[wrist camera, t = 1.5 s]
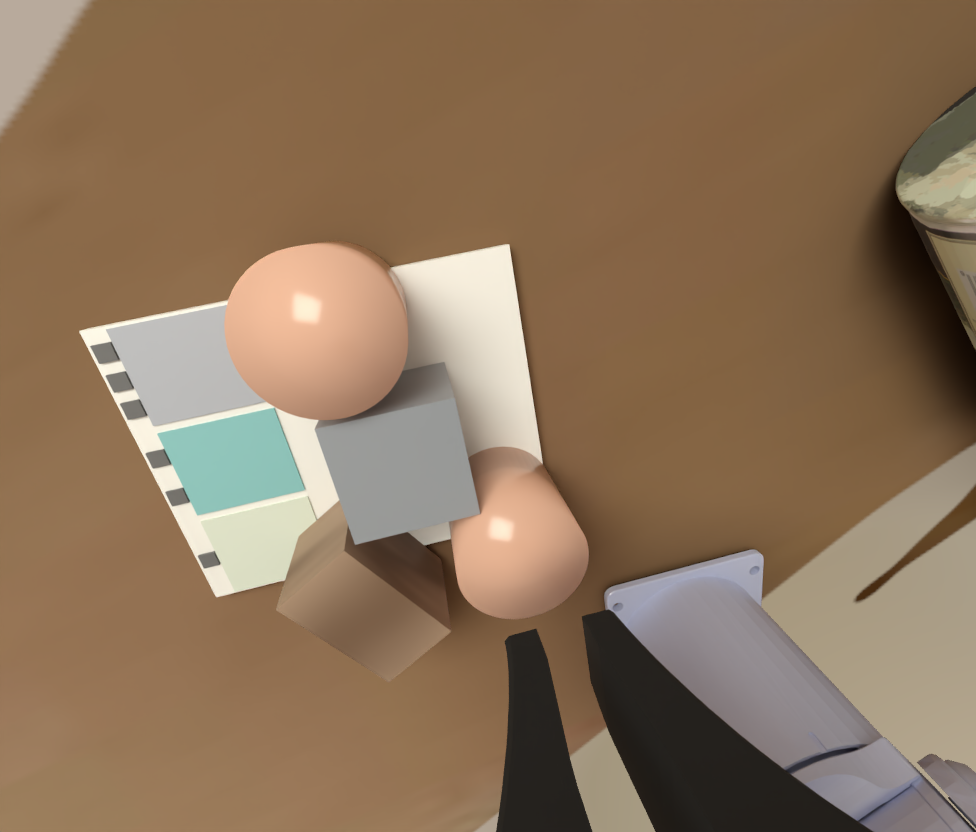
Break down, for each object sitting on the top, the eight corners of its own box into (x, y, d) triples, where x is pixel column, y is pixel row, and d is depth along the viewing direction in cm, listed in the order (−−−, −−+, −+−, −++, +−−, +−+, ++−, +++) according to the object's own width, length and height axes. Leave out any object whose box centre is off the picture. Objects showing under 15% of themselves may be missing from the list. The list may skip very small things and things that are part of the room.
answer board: (547, 507, 21) (551, 515, 20) (220, 588, 20) (215, 599, 19) (506, 244, 17) (509, 244, 16) (88, 328, 16) (77, 331, 15)
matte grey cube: (465, 458, 19) (480, 513, 15) (365, 482, 19) (355, 544, 15) (444, 361, 17) (454, 397, 14) (334, 385, 17) (314, 429, 13)
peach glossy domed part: (420, 358, 17) (425, 399, 13) (297, 385, 17) (262, 436, 13) (389, 228, 16) (383, 229, 11) (251, 255, 15) (194, 266, 11)
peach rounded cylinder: (557, 526, 21) (594, 600, 17) (457, 551, 21) (470, 633, 16) (543, 435, 19) (581, 492, 15) (434, 460, 19) (443, 526, 15)
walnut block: (441, 559, 21) (451, 631, 17) (389, 602, 21) (389, 682, 17) (353, 487, 19) (343, 550, 15) (298, 536, 19) (275, 609, 15)
